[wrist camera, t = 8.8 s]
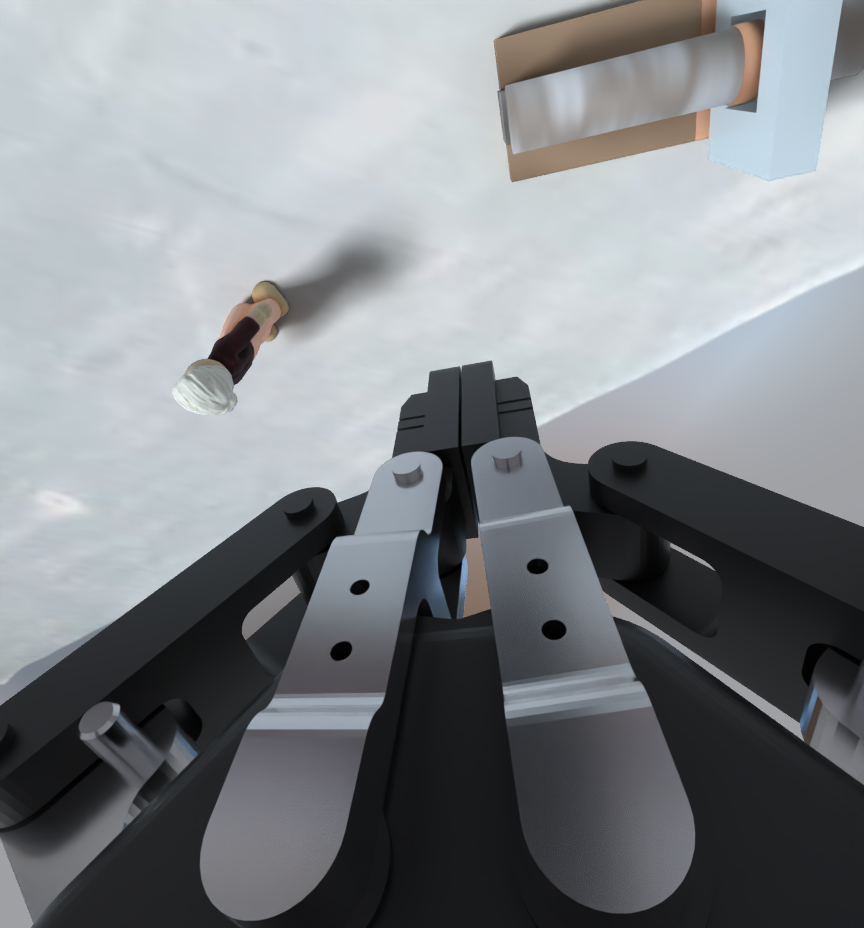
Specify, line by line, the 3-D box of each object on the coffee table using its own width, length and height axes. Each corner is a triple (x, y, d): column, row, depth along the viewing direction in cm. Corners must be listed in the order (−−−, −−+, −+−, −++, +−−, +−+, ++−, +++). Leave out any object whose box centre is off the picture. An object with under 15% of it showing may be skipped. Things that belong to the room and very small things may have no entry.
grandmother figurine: (247, 258, 38) (167, 327, 28) (300, 281, 39) (242, 357, 29) (224, 352, 43) (148, 443, 32) (273, 372, 43) (214, 466, 33)
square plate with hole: (719, -48, 27) (799, -85, 21) (764, -60, 27) (858, -101, 20) (707, 159, 32) (768, 181, 26) (745, 151, 32) (815, 171, 25)
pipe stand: (490, 41, 31) (496, 34, 25) (810, -44, 28) (907, -77, 22) (507, 179, 35) (516, 202, 29) (790, 114, 32) (867, 125, 26)
